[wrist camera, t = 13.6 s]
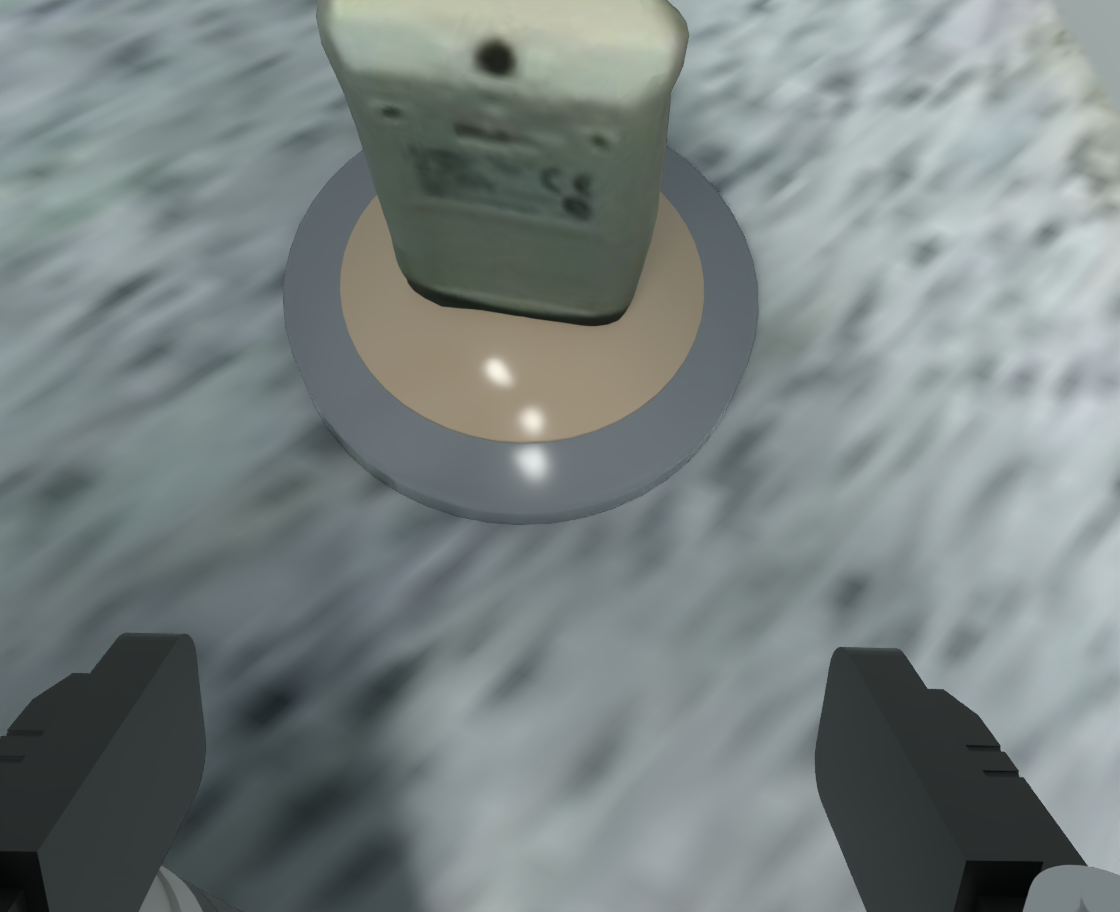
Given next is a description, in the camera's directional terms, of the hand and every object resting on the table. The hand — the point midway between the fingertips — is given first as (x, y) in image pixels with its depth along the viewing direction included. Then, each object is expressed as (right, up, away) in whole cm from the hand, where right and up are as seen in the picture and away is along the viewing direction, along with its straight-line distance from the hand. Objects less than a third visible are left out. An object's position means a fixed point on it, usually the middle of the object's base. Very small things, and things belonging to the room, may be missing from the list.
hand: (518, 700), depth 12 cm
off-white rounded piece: (-1, +7, +10) cm, 12 cm away
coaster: (0, +7, +11) cm, 13 cm away
